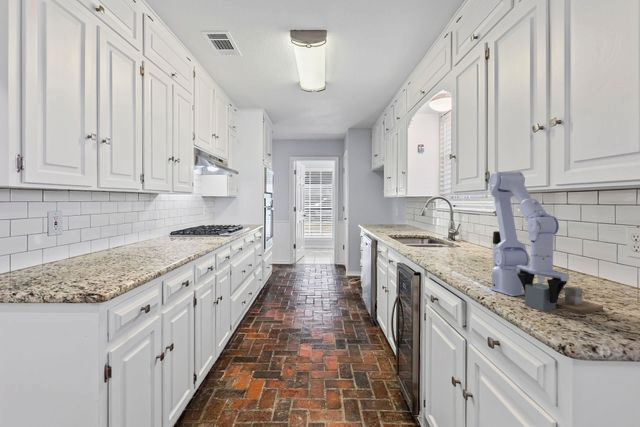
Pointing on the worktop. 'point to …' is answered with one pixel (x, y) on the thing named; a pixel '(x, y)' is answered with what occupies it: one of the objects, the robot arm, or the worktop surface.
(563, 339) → the worktop surface
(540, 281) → the lightbulb
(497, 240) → the spray can
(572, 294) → the brown base with post
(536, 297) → the blue-grey block
